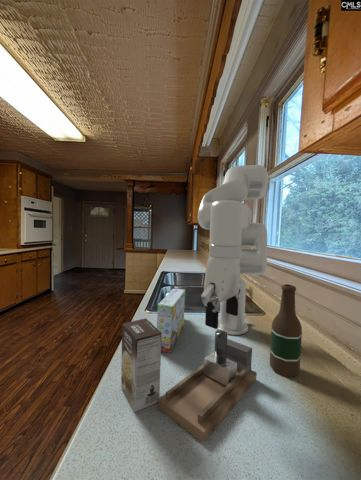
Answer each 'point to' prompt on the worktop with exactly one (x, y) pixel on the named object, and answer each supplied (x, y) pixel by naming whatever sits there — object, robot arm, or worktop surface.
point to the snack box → (171, 318)
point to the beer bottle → (286, 336)
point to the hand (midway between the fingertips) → (222, 320)
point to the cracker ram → (220, 361)
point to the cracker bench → (208, 395)
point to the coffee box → (141, 363)
